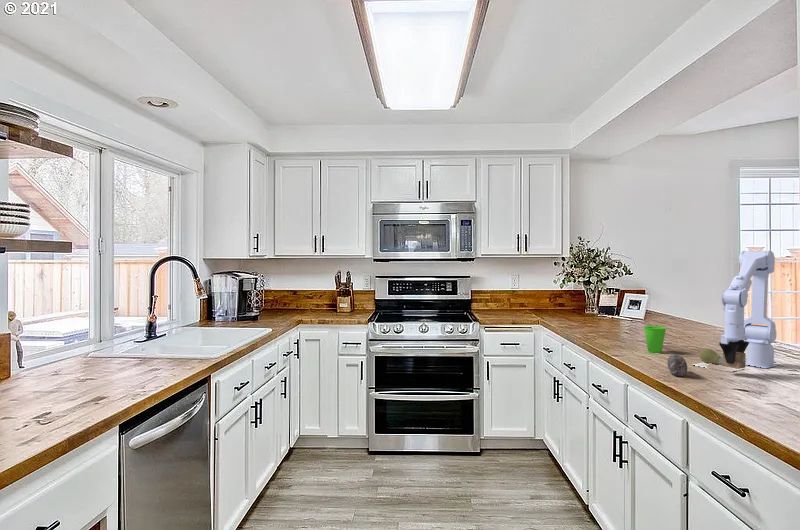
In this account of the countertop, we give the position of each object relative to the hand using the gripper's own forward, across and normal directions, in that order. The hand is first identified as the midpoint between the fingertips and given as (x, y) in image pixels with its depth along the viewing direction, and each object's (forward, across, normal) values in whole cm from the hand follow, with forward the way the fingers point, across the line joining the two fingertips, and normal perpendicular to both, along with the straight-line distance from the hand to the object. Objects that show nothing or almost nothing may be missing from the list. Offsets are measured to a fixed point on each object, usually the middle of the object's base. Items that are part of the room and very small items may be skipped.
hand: (734, 362), depth 171 cm
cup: (+5, -16, -38) cm, 41 cm away
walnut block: (+2, 0, 0) cm, 2 cm away
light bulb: (+3, -12, -7) cm, 14 cm away
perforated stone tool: (+5, +15, -12) cm, 20 cm away
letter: (+4, -8, -9) cm, 13 cm away
